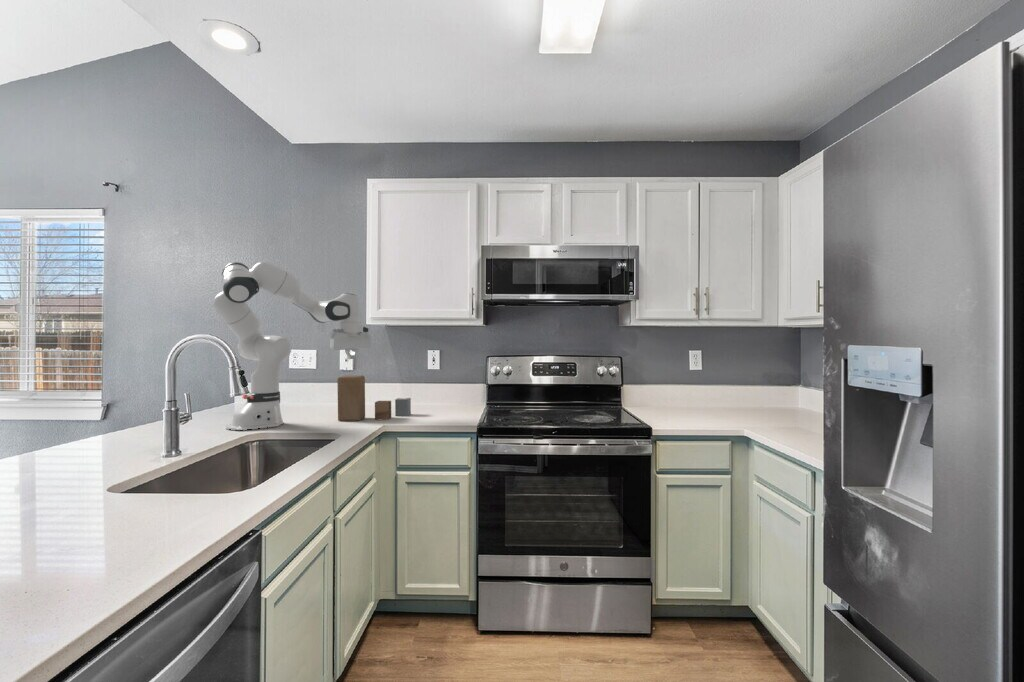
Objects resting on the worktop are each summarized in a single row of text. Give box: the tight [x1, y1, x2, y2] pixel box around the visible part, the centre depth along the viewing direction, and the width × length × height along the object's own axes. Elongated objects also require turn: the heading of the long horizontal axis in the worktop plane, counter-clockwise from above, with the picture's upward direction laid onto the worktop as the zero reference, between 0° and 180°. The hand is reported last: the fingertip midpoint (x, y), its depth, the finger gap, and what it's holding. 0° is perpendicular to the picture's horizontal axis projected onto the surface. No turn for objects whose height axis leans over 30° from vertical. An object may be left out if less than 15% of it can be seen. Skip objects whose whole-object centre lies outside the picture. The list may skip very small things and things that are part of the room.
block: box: [336, 374, 366, 422], centre depth 238 cm, size 10×10×20 cm
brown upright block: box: [374, 400, 392, 421], centre depth 240 cm, size 6×6×8 cm
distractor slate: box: [394, 397, 412, 417], centre depth 250 cm, size 6×6×8 cm
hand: (351, 359), depth 238 cm, fingers closed
